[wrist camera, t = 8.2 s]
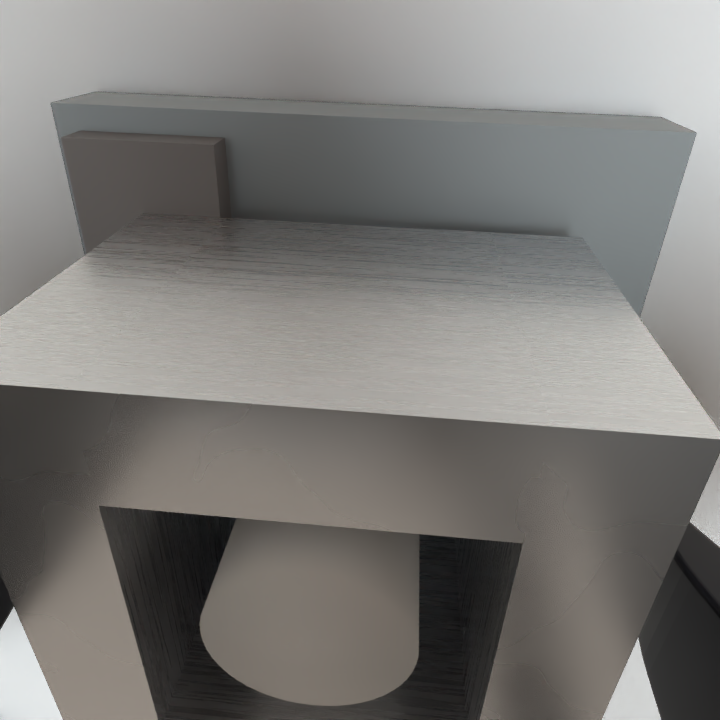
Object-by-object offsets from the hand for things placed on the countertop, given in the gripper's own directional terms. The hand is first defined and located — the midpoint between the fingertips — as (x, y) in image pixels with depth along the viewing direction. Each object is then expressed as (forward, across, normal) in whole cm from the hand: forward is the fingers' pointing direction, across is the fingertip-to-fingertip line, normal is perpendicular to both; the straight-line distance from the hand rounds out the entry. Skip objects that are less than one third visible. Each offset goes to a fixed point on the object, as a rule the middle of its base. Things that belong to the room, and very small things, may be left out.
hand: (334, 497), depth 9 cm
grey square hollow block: (+2, 0, 0) cm, 2 cm away
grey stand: (+5, 0, 0) cm, 5 cm away
